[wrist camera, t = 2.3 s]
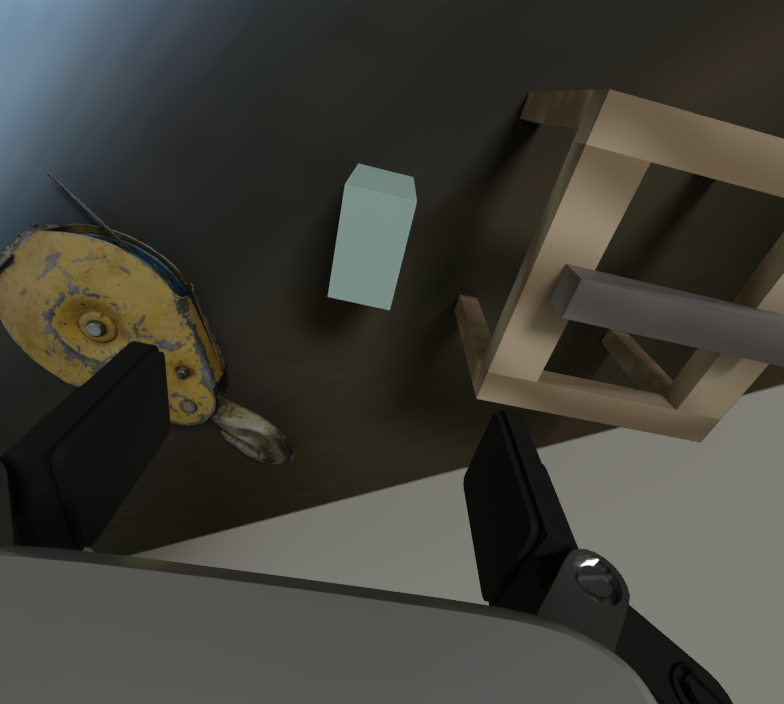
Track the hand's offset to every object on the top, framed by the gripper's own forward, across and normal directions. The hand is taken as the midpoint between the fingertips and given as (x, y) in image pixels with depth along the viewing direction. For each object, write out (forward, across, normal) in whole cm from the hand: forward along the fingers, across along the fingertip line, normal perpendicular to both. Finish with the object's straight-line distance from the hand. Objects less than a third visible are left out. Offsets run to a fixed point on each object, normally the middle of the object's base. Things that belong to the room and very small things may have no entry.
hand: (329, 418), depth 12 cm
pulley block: (+23, +16, +16) cm, 32 cm away
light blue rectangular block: (+22, 0, 0) cm, 22 cm away
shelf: (+22, -16, -2) cm, 27 cm away
